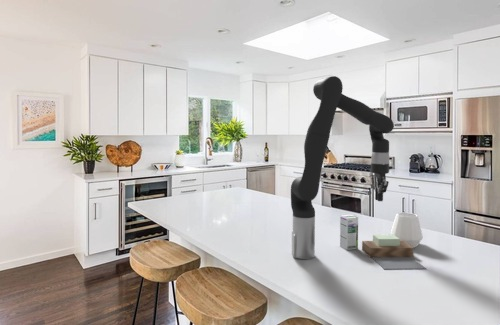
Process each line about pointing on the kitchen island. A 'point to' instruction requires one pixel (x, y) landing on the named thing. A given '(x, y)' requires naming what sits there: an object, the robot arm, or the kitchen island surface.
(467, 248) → the kitchen island surface
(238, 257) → the kitchen island surface
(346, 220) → the syrup box
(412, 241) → the cup
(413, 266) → the mat
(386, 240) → the mint green block
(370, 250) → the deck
